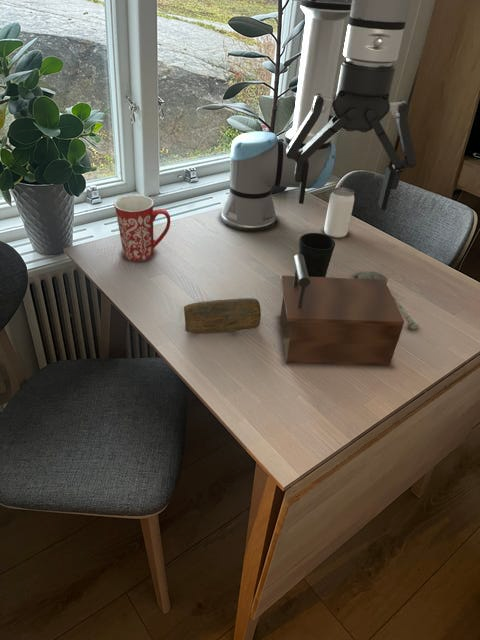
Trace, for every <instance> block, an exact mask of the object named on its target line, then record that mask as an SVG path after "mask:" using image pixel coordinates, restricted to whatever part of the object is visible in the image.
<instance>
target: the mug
mask: <svg viewBox="0 0 480 640" xmlns="http://www.w3.org/2000/svg"><path fill="white" fill-rule="evenodd" d="M154 203H155V202H154V199H152V198H151V197H149V196H147V195H142V194H129V195H124V196H121V197H119V198H117V199H116V200H115V201H114V202H113V208H114V209H115V213H116V219H117V220H116V221H117V226H118V231H119V235H120V236H119V237H120V243H121V247H122V248H121V249H122V253H123V257H124V258H125V259H126V260H129V261H132V262H143V261H147V260H149V259H151V258H152V257H153V256H154V254H155V248H156V247H157V246H158V245H159V244H160V243H161V241H162V240H164V238H165V237H166V235H167V234H168V232H169V230H170V227H171V215H170V213H169V211H167V210H166V209H164V208H157V209H154V206H155V205H154ZM159 215H164V216H165V218H166V225H165V228H164V229H163V231H162V232H161V234H160V235H159V236H158V237H157V238H156V239H154V222H155V220H156V218H157V216H159Z"/></svg>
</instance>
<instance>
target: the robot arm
mask: <svg viewBox="0 0 480 640" xmlns="http://www.w3.org/2000/svg"><path fill="white" fill-rule="evenodd" d="M294 1H296V2H300V9H301V10H302V12H303V13H304V16H305V24H304V31H303V39H302V47H301V57H300V64H299V72H298V81H297V89H296V98H295V107H294V115H293V122H292V127H290V128H289V130H287V131H286V133H285V139H284V140H281V139H278V136H277V135H276V134H275V133H274V132H272V131H269V132H268V131H264V130H262V131H261V130H259V131H257V130H256V131H248V132H245V133H241V134H240V135H238V136H236V137H235V138H234V139H233V140H232V143H231V149H230V150H231V151H230V154H229V159H230V167H229V168H230V171H229V190H228V194H227V197H226V199H225V201H224V205H223V207H222V209H221V220H222V222H223V223H224V224H225V225H226V226H228V227H230V228H232V229H235V230H238V231H243V232H259V231H265V230H267V229H270V228H271V227H273V226H274V225H275V223H276V218H277V216H276V215H277V214H276V210H275V205H274V201H273V196H272V193H273V192H272V191H273V187H279V188H296V189H298V195H297V199H298V200H297V201H298V204H299V205H304V202H305V195H306V190H310V189H322V188H325V186H326V185H327V183H328V182H329V180H330V178H331V176H332V173H333V170H334V165H335V158H336V153H337V152H336V151H337V149H336V145H335V144H334V143H333V142H332V137H333V136H334V135H335V134H337V133H338V132H339V131H340V130H342V129H343V130H345V131H346V132H356V131H357V132H360V133H368V132H369V131H372V130H373V131H374V133H375V135H376V136H377V138H378V140H379V142H380V144H381V146H382V147H383V149H384V151H385V152H386V154H387V157H388V158H389V159H390V162H391V163H392V165H389V164H387V165H386V169H385V173H384V177H383V181H382V184H381V189H380V193H379V197H378V202H377V204H378V207H379V209H380V210H381V211H386V209H387V205H388V202H389V197H390V194H391V190H396V189H397V188H398V187H399V183H400V179H401V175H402V173H404V172H405V169H408V168H410V169H412V168H415V167H416V166H417V159H416V155H415V149H414V146H413V139H412V136H411V131H410V126H409V122H408V121H409V120H408V118H409V110H410V105H409V104H408V102H406V101H405V99H400V100H398V101H394V102H393V101H392V102H391V101H390V100H389V99H390V93H391V88H392V85H393V81H394V76H395V71H396V68H395V66H394V65H393V63H395V62H397V60H398V58H399V54H400V49H401V45H402V40H403V36H404V30H405V28H406V22H407V18H408V15H409V10H410V6H411V2H412V0H293V2H294ZM348 17H349V19H348V24H347V29H346V35H345V41H344V47H343V52H342V55H343V56H344V58H345V60H343V61H342V62H341V65H340V71H339V77H338V83H337V89H336V93H335V95H334V97H333V93H334V89H335V88H334V87H335V83H336V82H335V81H336V76H337V69H338V63H339V56H340V51H341V46H342V38H343V33H344V26H345V20H346V19H347V18H348ZM331 109H332V111H333V113H334V116H332V117H331V118H330V111H331ZM389 112H390V113H391V115H392V117H393V118H394V119H395V121H396V127H397V130H398V131H397V132H398V136H399V139H400V144H401V149H402V153H403V157H401V158H400V156H399V154H398V153H397V151H396V149H395V147H394V146H393V144H392V142H391V140H390V138H389V137H388V134H387V133H386V130H385V129H384V127H383V125H382V123H381V121H382V120H383V119H384V118H385V116H387V114H388V113H389ZM329 118H330V120H329Z"/></svg>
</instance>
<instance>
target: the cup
mask: <svg viewBox="0 0 480 640" xmlns="http://www.w3.org/2000/svg"><path fill="white" fill-rule="evenodd" d="M335 247H336V241H335V240H334V238H333V237H331V236H328V235H327V234H325V233H324V234H323V233H319V232H308V233H304V234H303V235H301V236H300V237H299V240H298V254H301V255H303V256H304V259H305V263H306V267H307V271H308V275H309V277H327V273H328V270H329V266H330V263H331V260H332V256H333V253H334V250H335Z"/></svg>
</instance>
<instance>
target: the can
mask: <svg viewBox="0 0 480 640" xmlns="http://www.w3.org/2000/svg"><path fill="white" fill-rule="evenodd" d="M354 203H355V191H354V190H353V189H351V188H347V187H340V186H339V187H334V188H333V189H332V192H331V193H330V195H329V200H328V205H327V210H326V215H325V221H324V227H323V232H324V234H325V235H327V236H329V237H331V238H336V239H337V238H338V239H340V238H344V237H346V236H347V235H348V232H349V227H350V223H351V220H352V219H351V217H352V214H353V209H354Z"/></svg>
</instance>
